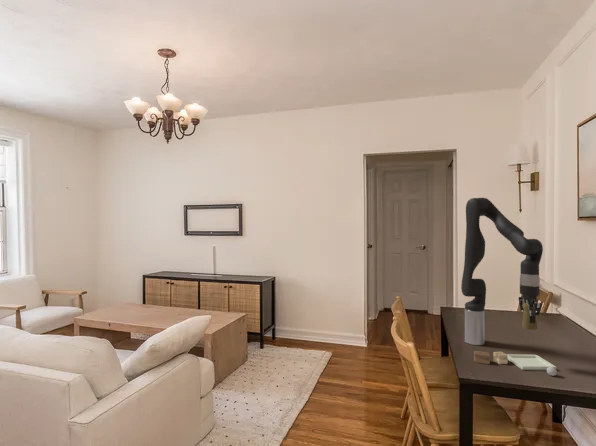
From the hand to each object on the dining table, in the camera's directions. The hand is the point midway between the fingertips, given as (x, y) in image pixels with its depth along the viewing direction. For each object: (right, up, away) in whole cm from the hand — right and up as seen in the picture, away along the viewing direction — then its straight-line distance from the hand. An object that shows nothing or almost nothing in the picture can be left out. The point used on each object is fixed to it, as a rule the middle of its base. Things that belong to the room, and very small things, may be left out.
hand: (529, 322), depth 164 cm
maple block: (-12, -19, +2) cm, 22 cm away
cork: (0, -3, 0) cm, 3 cm away
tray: (0, -18, 0) cm, 18 cm away
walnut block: (-20, -19, +3) cm, 27 cm away
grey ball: (+2, -17, -12) cm, 21 cm away
